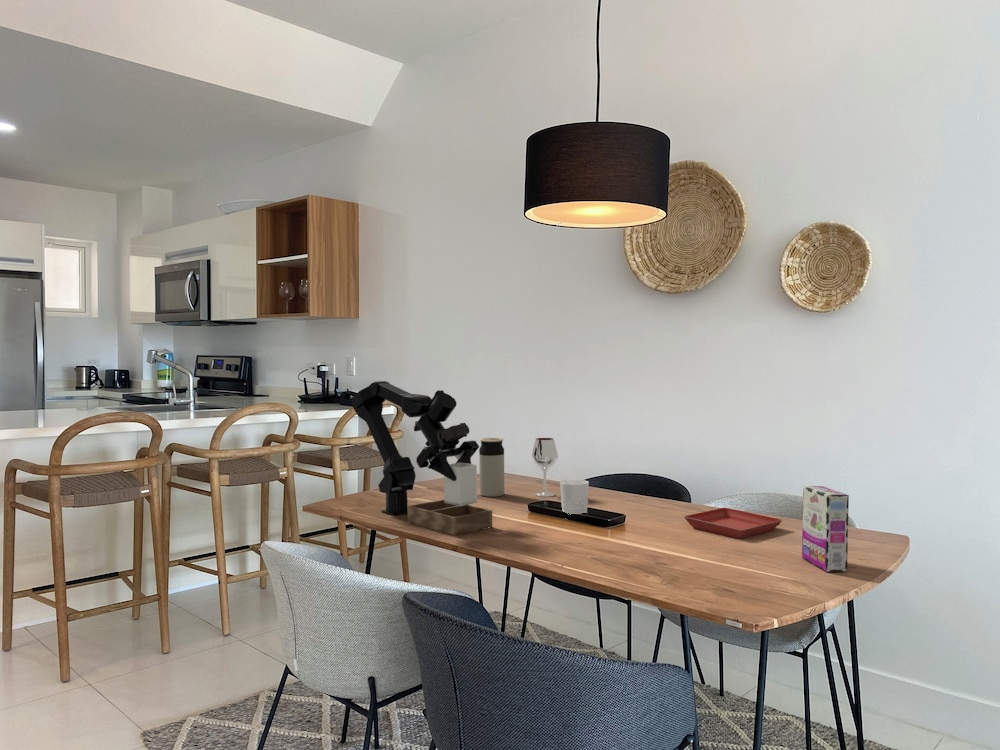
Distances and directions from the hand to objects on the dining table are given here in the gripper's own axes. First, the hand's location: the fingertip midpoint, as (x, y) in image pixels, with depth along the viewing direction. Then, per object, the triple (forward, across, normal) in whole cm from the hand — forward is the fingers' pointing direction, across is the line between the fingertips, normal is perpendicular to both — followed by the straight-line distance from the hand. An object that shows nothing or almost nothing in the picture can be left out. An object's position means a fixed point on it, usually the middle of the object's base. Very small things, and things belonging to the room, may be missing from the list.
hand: (464, 478), depth 200 cm
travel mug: (-8, +38, +27) cm, 47 cm away
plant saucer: (+47, +46, -28) cm, 71 cm away
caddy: (+4, 0, +6) cm, 7 cm away
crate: (+5, 0, +14) cm, 15 cm away
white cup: (+20, +29, -1) cm, 35 cm away
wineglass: (+1, +49, +18) cm, 52 cm away
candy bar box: (+67, +28, -49) cm, 88 cm away
